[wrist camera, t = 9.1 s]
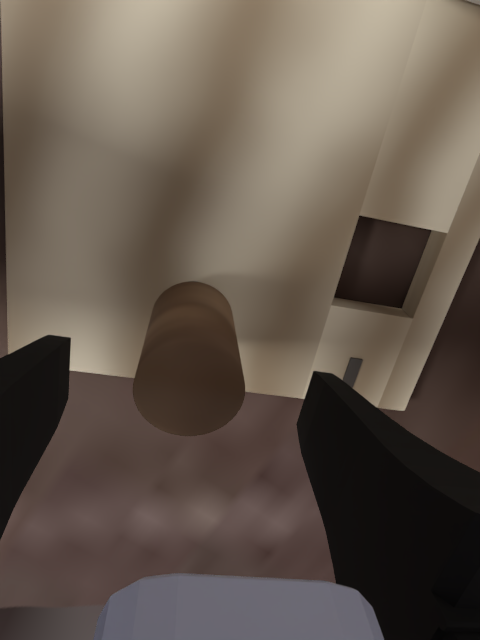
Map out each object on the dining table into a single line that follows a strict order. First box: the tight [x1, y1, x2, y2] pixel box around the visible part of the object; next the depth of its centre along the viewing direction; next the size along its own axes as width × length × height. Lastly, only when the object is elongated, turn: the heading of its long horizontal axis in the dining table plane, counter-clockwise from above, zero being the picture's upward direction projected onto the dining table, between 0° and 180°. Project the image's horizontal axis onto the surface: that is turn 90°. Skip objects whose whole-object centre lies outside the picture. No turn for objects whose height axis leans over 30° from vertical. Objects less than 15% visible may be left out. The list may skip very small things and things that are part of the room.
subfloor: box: [1, 0, 480, 411], centre depth 15 cm, size 19×26×1 cm
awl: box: [133, 281, 245, 436], centre depth 15 cm, size 3×3×6 cm
